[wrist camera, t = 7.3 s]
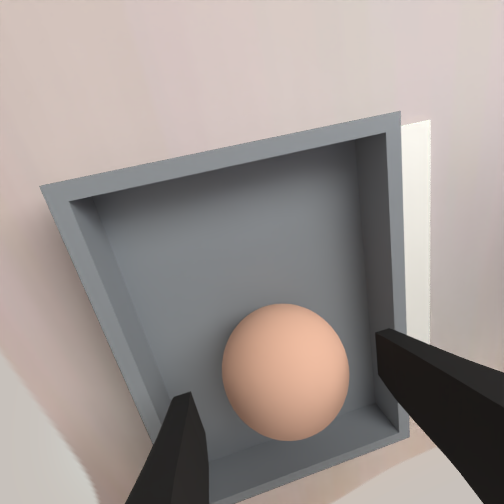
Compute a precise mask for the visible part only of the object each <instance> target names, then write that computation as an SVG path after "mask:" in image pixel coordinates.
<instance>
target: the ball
mask: <svg viewBox="0 0 504 504" xmlns="http://www.w3.org/2000/svg"><path fill="white" fill-rule="evenodd" d="M222 379H223V385H224V389H225V392H226V395H227V398H228V400H229V402H230V404H231V406H232V408H233V409H234V411H235V412H236V414H237V415H238V416H239V417H240V419H241V420H242V421H243V422H244V423H245V424H247V425H248V426H249V427H250V428H252V429H253V430H255V431H256V432H258V433H259V434H261V435H263V436H266V437H269V438H272V439H275V440H281V441H296V440H302V439H306V438H308V437H311V436H313V435H315V434H317V433H319V432H320V431H322V430H323V429H325V428H326V427H327V426H328V425H329V424H330V423H331V422H332V421H333V420H334V419H335V417H336V416H337V415H338V413H339V412H340V410H341V408H342V406H343V404H344V402H345V398H346V395H347V392H348V386H349V364H348V359H347V355H346V352H345V349H344V346H343V344H342V342H341V340H340V338H339V336H338V335H337V334H336V332H335V331H334V329H333V328H332V327H331V326H330V325H329V324H328V323H327V322H326V321H325V320H324V319H323V318H322V317H320V316H319V315H318V314H316V313H314V312H313V311H311V310H309V309H307V308H304V307H301V306H298V305H293V304H272V305H268V306H264V307H261V308H259V309H257V310H255V311H253V312H252V313H250V314H249V315H247V316H246V317H245V318H244V319H243V320H242V321H241V322H240V323H239V324H238V325H237V326H236V327H235V329H234V330H233V332H232V333H231V335H230V337H229V339H228V341H227V344H226V347H225V350H224V354H223V360H222Z"/></svg>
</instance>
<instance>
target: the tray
mask: <svg viewBox="0 0 504 504" xmlns="http://www.w3.org/2000/svg"><path fill="white" fill-rule="evenodd" d="M39 187H40V189H41V191H42V194H43V196H44V198H45V200H46V203H47V205H48V207H49V210H50V212H51V214H52V216H53V219H54V221H55V223H56V225H57V228H58V230H59V232H60V234H61V237H62V239H63V241H64V244H65V246H66V248H67V250H68V253H69V255H70V257H71V259H72V262H73V264H74V266H75V268H76V271H77V273H78V275H79V278H80V280H81V282H82V284H83V287H84V289H85V291H86V293H87V296H88V298H89V300H90V303H91V305H92V307H93V309H94V312H95V314H96V316H97V318H98V321H99V323H100V325H101V327H102V330H103V332H104V334H105V337H106V339H107V341H108V343H109V346H110V348H111V350H112V352H113V355H114V357H115V359H116V361H117V364H118V366H119V368H120V371H121V373H122V375H123V377H124V380H125V382H126V384H127V386H128V389H129V391H130V393H131V395H132V398H133V400H134V402H135V405H136V407H137V409H138V411H139V414H140V416H141V418H142V420H143V423H144V425H145V427H146V430H147V432H148V434H149V436H150V439H151V441H152V443H153V445H154V442H155V440H156V438H157V436H158V433H159V431H160V428H161V426H162V424H163V421H164V419H165V416H166V413H167V411H168V408H169V406H170V403H171V400H172V399H173V397H175V396H178V395H181V394H184V393H187V392H190V391H191V393H192V396H193V399H194V402H195V405H196V407H197V410H198V413H199V416H200V419H201V422H202V425H203V427H204V430H205V433H206V442H207V451H208V462H209V504H235V503H238V502H240V501H243V500H245V499H248V498H251V497H253V496H256V495H259V494H261V493H264V492H267V491H269V490H272V489H274V488H277V487H280V486H282V485H285V484H288V483H290V482H293V481H295V480H298V479H301V478H303V477H306V476H309V475H311V474H314V473H317V472H319V471H322V470H324V469H327V468H330V467H332V466H335V465H338V464H340V463H343V462H345V461H348V460H351V459H353V458H356V457H359V456H361V455H364V454H367V453H369V452H372V451H374V450H377V449H380V448H382V447H385V446H388V445H390V444H393V443H395V442H398V441H401V440H403V439H406V438H409V437H410V431H409V414H408V413H407V412H406V411H405V410H404V409H403V407H402V406H401V405H400V404H399V403H398V402H397V400H396V399H395V398H394V397H393V395H392V394H391V392H390V391H389V390H388V388H387V387H386V385H385V384H384V383H383V381H382V380H381V378H380V377H379V375H378V368H377V354H376V340H375V332H378V331H382V330H385V329H388V328H390V329H393V330H396V331H398V332H401V333H403V334H406V335H407V324H406V289H405V253H404V218H403V182H402V147H401V111H397V112H393V113H388V114H383V115H378V116H373V117H369V118H364V119H359V120H354V121H349V122H345V123H340V124H335V125H330V126H325V127H321V128H316V129H311V130H306V131H301V132H296V133H292V134H287V135H282V136H277V137H272V138H268V139H263V140H258V141H253V142H248V143H244V144H239V145H234V146H229V147H224V148H220V149H215V150H210V151H205V152H200V153H196V154H191V155H186V156H181V157H176V158H171V159H167V160H162V161H157V162H152V163H147V164H143V165H138V166H133V167H128V168H123V169H119V170H114V171H109V172H104V173H99V174H95V175H90V176H85V177H80V178H75V179H70V180H66V181H61V182H56V183H51V184H46V185H42V186H39ZM272 304H293V305H298V306H301V307H304V308H307V309H309V310H311V311H313V312H314V313H316V314H318V315H319V316H320V317H322V318H323V319H324V320H325V321H326V322H327V323H328V324H329V325H330V326H331V327H332V328H333V329H334V331H335V332H336V334H337V335H338V336H339V338H340V340H341V342H342V344H343V346H344V349H345V352H346V355H347V359H348V364H349V386H348V392H347V395H346V398H345V402H344V404H343V406H342V408H341V410H340V412H339V413H338V415H337V416H336V417H335V419H334V420H333V421H332V422H331V423H330V424H329V425H328V426H327V427H326V428H325V429H323V430H322V431H320V432H319V433H317V434H315V435H313V436H311V437H308V438H306V439H302V440H296V441H281V440H275V439H272V438H269V437H266V436H263V435H261V434H259V433H258V432H256V431H255V430H253V429H252V428H250V427H249V426H248V425H247V424H245V423H244V422H243V421H242V420H241V419H240V417H239V416H238V415H237V414H236V412H235V411H234V409H233V408H232V406H231V404H230V402H229V400H228V398H227V395H226V392H225V389H224V385H223V379H222V360H223V354H224V350H225V347H226V344H227V341H228V339H229V337H230V335H231V333H232V332H233V330H234V329H235V327H236V326H237V325H238V324H239V323H240V322H241V321H242V320H243V319H244V318H245V317H246V316H247V315H249V314H250V313H252V312H253V311H255V310H257V309H259V308H261V307H264V306H268V305H272Z"/></svg>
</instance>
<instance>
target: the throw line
mask: <svg viewBox="0 0 504 504" xmlns="http://www.w3.org/2000/svg"><path fill="white" fill-rule="evenodd" d="M401 147H402V182H403V218H404V253H405V289H406V324H407V335H408V336H410V337H413V338H415V339H417V340H420V341H422V342H425V343H427V344H429V345H430V159H431V119H430V120H426V121H421V122H416V123H412V124H407V125H402V126H401Z"/></svg>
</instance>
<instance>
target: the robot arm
mask: <svg viewBox="0 0 504 504" xmlns="http://www.w3.org/2000/svg"><path fill="white" fill-rule="evenodd" d="M375 340H376V354H377V368H378V375H379V377H380V378H381V380H382V381H383V383H384V384H385V385H386V387H387V388H388V390H389V391H390V392H391V394H392V395H393V397H394V398H395V399H396V400H397V402H398V403H399V404H400V405H401V406H402V407H403V409H404V410H405V411H406V412H407V413H408V414H409V415H410V416H411V418H412V419H413V420H414V421H415V422H416V423H417V424H418V425H419V427H420V428H421V429H422V430H423V431H424V432H425V433H426V434H427V435H428V437H429V438H430V439H431V440H432V441H433V442H434V443H435V444H436V445H437V447H438V448H439V449H440V450H441V451H442V452H443V453H444V454H445V455H446V457H447V458H448V459H449V460H450V461H451V463H452V464H453V465H454V466H455V467H456V469H457V470H458V471H459V472H460V473H461V475H462V476H463V477H464V479H465V480H466V481H467V483H468V484H469V485H470V487H471V488H472V489H473V490H474V492H475V493H476V494H477V496H478V497H479V498H480V500H481V501H482V502H483V503H484V504H504V373H503V372H500V371H497V370H494V369H492V368H489V367H486V366H483V365H480V364H478V363H475V362H472V361H469V360H467V359H464V358H462V357H459V356H456V355H454V354H451V353H449V352H446V351H444V350H441V349H439V348H437V347H434V346H432V345H429V344H427V343H425V342H422V341H420V340H417V339H415V338H413V337H410V336H408V335H406V334H403V333H401V332H398V331H396V330H393V329H390V328H388V329H385V330H382V331H378V332H375ZM125 504H209V462H208V451H207V442H206V433H205V430H204V427H203V425H202V422H201V419H200V416H199V413H198V410H197V407H196V405H195V402H194V399H193V396H192V393H191V391H190V392H187V393H184V394H181V395H178V396H175V397H173V399H172V400H171V403H170V406H169V408H168V411H167V413H166V416H165V419H164V421H163V424H162V426H161V428H160V431H159V433H158V436H157V438H156V440H155V442H154V445H153V447H152V449H151V451H150V454H149V456H148V458H147V460H146V462H145V465H144V467H143V469H142V471H141V473H140V475H139V477H138V479H137V481H136V483H135V485H134V487H133V489H132V491H131V493H130V495H129V497H128V499H127V501H126V503H125Z"/></svg>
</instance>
